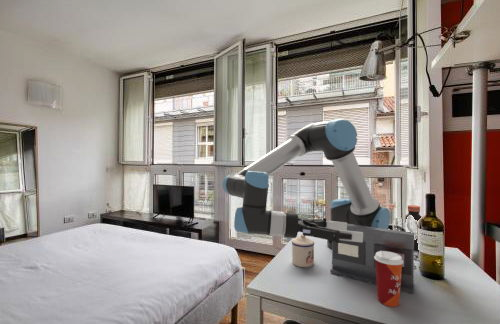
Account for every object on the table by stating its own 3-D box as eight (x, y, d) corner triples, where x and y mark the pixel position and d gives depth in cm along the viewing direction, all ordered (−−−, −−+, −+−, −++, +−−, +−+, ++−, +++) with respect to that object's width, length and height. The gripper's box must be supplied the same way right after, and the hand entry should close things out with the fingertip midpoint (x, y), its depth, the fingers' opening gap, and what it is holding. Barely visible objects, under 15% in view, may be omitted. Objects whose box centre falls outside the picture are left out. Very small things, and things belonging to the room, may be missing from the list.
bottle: (425, 250, 117) (426, 207, 116) (413, 251, 115) (414, 207, 115) (413, 245, 123) (413, 204, 123) (401, 246, 122) (401, 205, 121)
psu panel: (336, 265, 101) (336, 220, 101) (413, 283, 86) (414, 231, 86) (330, 272, 94) (330, 225, 94) (412, 293, 80) (413, 237, 79)
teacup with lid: (310, 269, 97) (310, 239, 97) (288, 264, 102) (288, 236, 102) (319, 259, 107) (319, 231, 107) (298, 254, 112) (298, 228, 112)
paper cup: (399, 312, 70) (399, 262, 70) (370, 302, 75) (370, 255, 75) (405, 300, 76) (406, 254, 76) (378, 291, 81) (378, 248, 81)
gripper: (280, 227, 91) (340, 234, 89) (286, 248, 66) (370, 257, 65) (282, 207, 91) (342, 212, 90) (289, 219, 66) (372, 228, 65)
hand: (353, 231), depth 77 cm, fingers open, 13 cm apart
